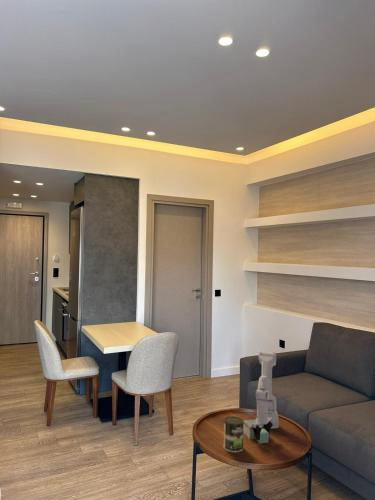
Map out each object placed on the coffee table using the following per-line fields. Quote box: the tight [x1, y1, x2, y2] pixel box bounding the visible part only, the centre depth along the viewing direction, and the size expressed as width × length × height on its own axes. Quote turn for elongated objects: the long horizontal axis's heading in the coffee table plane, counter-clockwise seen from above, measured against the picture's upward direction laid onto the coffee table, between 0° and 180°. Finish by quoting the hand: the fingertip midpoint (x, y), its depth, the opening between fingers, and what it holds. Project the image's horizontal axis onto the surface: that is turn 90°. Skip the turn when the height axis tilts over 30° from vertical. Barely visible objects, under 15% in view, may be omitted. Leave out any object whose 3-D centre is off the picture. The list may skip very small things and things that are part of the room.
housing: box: [243, 418, 264, 440], centre depth 208 cm, size 11×10×6 cm
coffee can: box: [223, 416, 244, 453], centre depth 192 cm, size 10×10×14 cm
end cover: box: [254, 429, 270, 444], centre depth 202 cm, size 5×10×5 cm, turn 15°
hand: (262, 438), depth 199 cm, fingers open, 7 cm apart
